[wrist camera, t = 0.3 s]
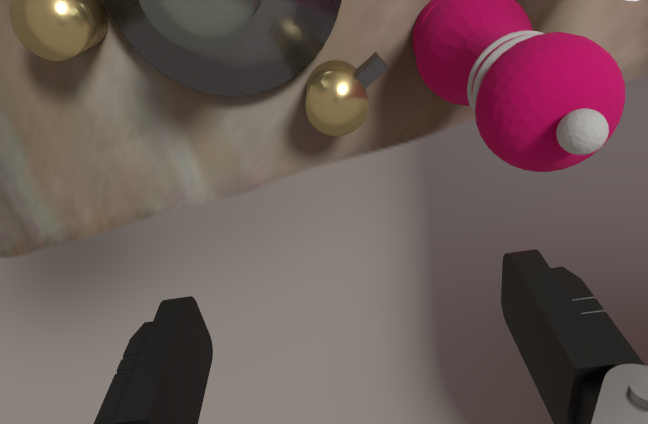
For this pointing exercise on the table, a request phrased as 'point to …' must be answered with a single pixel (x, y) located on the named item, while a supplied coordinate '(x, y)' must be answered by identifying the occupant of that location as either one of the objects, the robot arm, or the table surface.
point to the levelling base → (250, 51)
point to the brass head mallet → (58, 26)
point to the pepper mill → (520, 81)
